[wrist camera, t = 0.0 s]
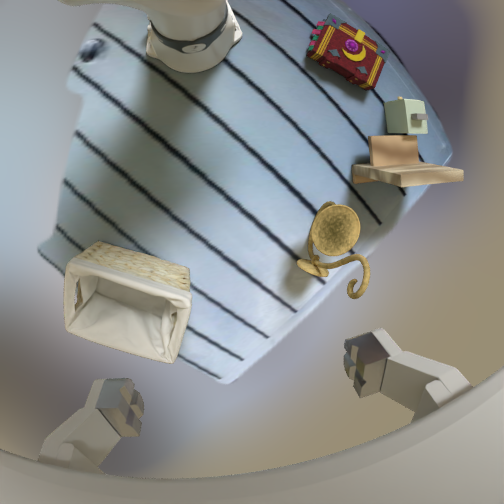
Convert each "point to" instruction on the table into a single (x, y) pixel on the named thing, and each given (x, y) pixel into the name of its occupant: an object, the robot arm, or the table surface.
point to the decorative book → (348, 52)
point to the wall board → (400, 164)
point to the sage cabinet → (406, 116)
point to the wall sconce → (335, 243)
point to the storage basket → (128, 301)
